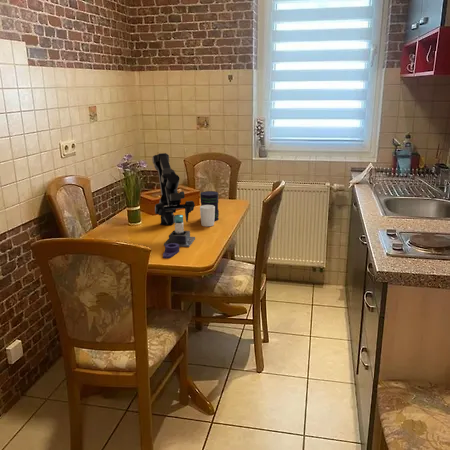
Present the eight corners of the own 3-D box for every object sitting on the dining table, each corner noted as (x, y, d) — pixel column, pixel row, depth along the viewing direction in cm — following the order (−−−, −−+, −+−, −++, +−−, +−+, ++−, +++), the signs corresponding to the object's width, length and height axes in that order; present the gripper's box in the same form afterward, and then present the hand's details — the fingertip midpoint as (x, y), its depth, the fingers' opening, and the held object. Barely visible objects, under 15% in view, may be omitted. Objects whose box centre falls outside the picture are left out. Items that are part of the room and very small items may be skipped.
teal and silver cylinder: (173, 240, 216) (172, 216, 213) (178, 238, 220) (177, 214, 216) (180, 242, 214) (179, 217, 211) (185, 239, 218) (184, 215, 214)
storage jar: (219, 217, 258) (219, 191, 254) (217, 222, 249) (217, 195, 244) (202, 216, 259) (201, 191, 255) (199, 221, 250) (198, 195, 245)
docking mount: (163, 245, 213) (163, 236, 211) (171, 237, 224) (170, 228, 223) (188, 247, 210) (188, 237, 209) (195, 238, 222) (194, 229, 220)
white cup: (217, 223, 247) (216, 205, 244) (212, 227, 240) (212, 208, 237) (203, 222, 249) (202, 204, 246) (198, 226, 242) (197, 207, 239)
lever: (167, 249, 209) (167, 242, 208) (181, 250, 208) (180, 243, 207) (158, 258, 198) (158, 251, 197) (173, 259, 196) (172, 252, 195)
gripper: (154, 187, 215) (159, 216, 208) (193, 184, 220) (199, 212, 213) (152, 199, 224) (157, 227, 218) (190, 196, 230) (195, 223, 223)
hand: (177, 222), depth 218 cm, fingers open, 9 cm apart
